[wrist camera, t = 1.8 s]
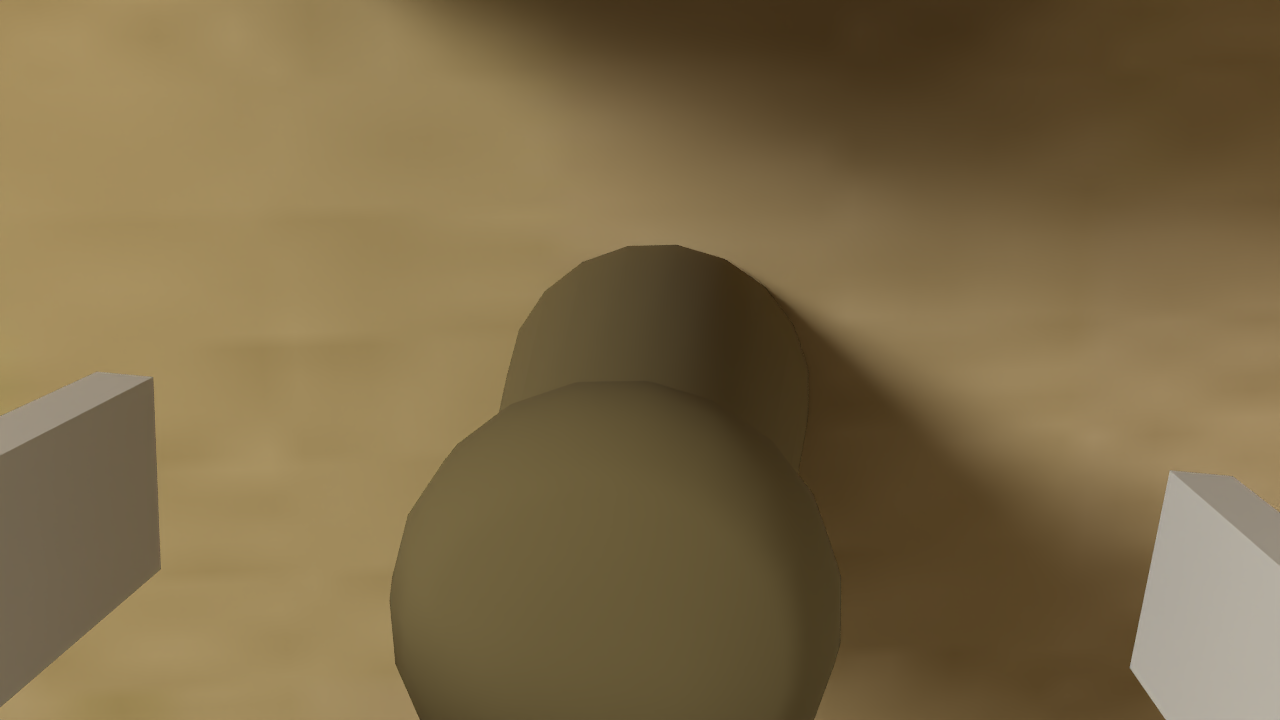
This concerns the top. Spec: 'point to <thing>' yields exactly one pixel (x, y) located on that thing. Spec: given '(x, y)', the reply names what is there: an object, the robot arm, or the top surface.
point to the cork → (628, 515)
